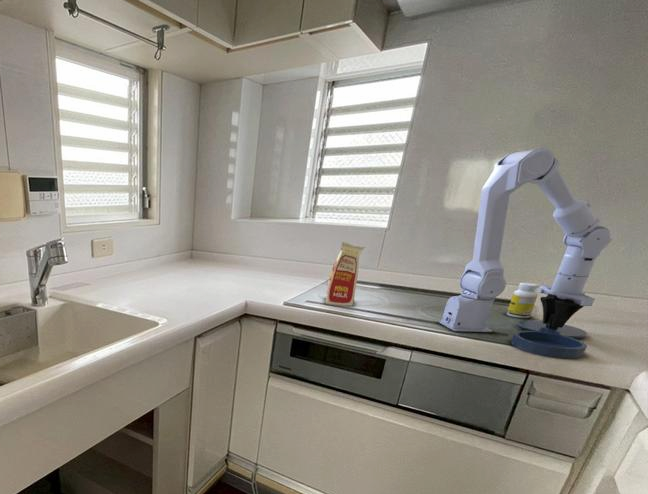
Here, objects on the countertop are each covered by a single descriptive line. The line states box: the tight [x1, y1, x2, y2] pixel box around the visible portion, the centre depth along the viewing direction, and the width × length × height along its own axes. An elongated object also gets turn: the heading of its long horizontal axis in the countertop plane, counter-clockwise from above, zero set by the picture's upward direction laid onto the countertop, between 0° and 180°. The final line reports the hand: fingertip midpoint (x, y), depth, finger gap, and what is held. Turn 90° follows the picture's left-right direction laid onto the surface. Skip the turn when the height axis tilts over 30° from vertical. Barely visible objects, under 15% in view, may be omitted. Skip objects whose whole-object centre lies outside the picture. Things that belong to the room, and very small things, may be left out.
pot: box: [511, 330, 588, 360], centre depth 96 cm, size 13×13×2 cm
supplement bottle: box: [506, 282, 539, 319], centre depth 120 cm, size 5×5×10 cm
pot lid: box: [517, 312, 588, 339], centre depth 107 cm, size 14×14×5 cm
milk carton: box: [325, 241, 366, 306], centre depth 134 cm, size 9×9×20 cm
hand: (552, 325), depth 108 cm, fingers closed on pot lid, 2 cm apart
